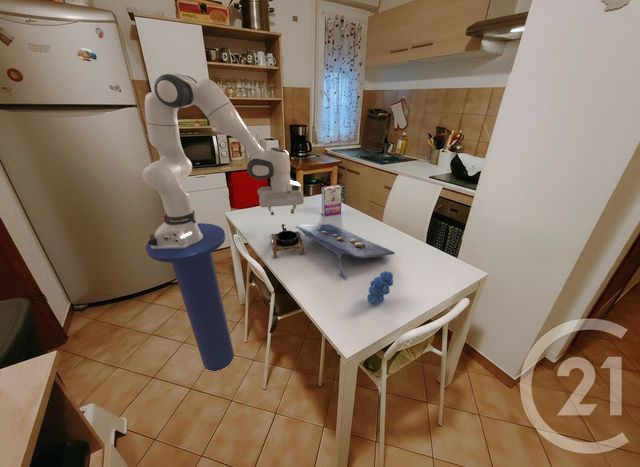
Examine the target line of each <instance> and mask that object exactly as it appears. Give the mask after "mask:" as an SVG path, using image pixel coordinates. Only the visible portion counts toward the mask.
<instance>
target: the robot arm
mask: <svg viewBox="0 0 640 467" xmlns="http://www.w3.org/2000/svg"><path fill="white" fill-rule="evenodd" d="M153 89H154V91H150V92H148V93H146V94H145V97H144V117H145V118H144V119H145V123H146V131H147V135H148V141H149V144H150V145H151V146H152V147H154V148H155V149H156V151H157V153H158V155H159V159H158V160H155V161H153V162H151V163H149V164H148V165H147V166H146V167H144V168H143V170H142V173H141V176H142V179H143V181H144V183H145V184H146V185H147V186H148V187H149V188H151V189H152V190H155V191H156V193H158V195H159V196H160V198H161V201H162V203H163V206H164V209H165V211H164V213H163V216H162V221H163V223H161V224H160V225H159V226H158V227H157V228H156V230H155V232H154V233H153V234H150V235H149V241H148V242H149V244H150V245H151V248H152V249H182V248H186V247H188V246H189V245H192V244H194V243H196V242H198V241H200V240H201V239H202V238H203V235H202V233H201V231H200V229H199V227H198V225H197V223H198V222H197V214H196V212H195V209H194V207H193V203H192V199H191V195H190V194H189V192H186V191H185V190H184V189H183V187H182V185H181V181H183V180H185V179H186V178H187V177H188V176H189V175H190V174H191V173H192V171H193V163H192V162H191V160H190V159H189V158H188V157H187V156H186V154H185V151H184V149H183V146H182V141H181V136H180V129H179V120H178V111H179V109H183V108H184V109H185V108H189V107H193V106H196V107H197V108H199V109H200V111H202V113H203V114H204V116H205V117H206V118H207V120H208V121H209V122H210V124H211V126H213V127H214V128H215V129H216V130H217V131H218V132H219V133H220V134H222V135H227V136H229V137H231V138H234V139H235V140H236V141H238V143H239V144H240V145H241V146H242V148H243V149H244V150H245V151H246V153H247V154H248V155H249V157H250V159H249V161H248V162H247V164H246V171H247V173H248V175H249V177H251V178H252V179H254V180H257V181H259V180H260V181H261V180H266V179H270V185H267V186H260V187H259V188H258V189H257V195H258V197H259V200H258V201H259V206H260V207H261V208H267V209H268V211H269V212H270V216H275V211H274V210H272V208H273V207H285V206H292V208H290V214H295V210H296V208H297V206H300V205H303V204H304V202H305V199H304V193H303V191H302V185H301V184H300V183H299V182H298V181H295V180H292V178H291V175H290V173H291V160H290V154H289V151H287V150H286V149H285V148H282V147H273V146H272V147H271V148H270V149H268V150H265V149H264V148H263V147H262V146H261V145H260V144H259V142H258V141H257V140H256V138H255V137H254V136H253V135H252V133H251V132H250V131H249V129H248V128H247V126H246V124H245V123H244V121H243V120H242V118H241V116H240V115H239V112H238V111H237V110H236V108H235V106H234V105H233V103H232V102H231V101H230V99H229V98H228V97H227V95H226V94H225V93H224V91H223V90H222V89H221V88H220V87H219V85H217V84H216V83H215V81H213V80H211V79H207V78H206V79H201V80H199V81H197V80H196V79H194V78H193V77H191V76H190V75H185V74H180V73H173V74H172V73H165V74H161V75H160V76H158V77H157V78H156V80H155V82H154V85H153Z"/></svg>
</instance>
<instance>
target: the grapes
mask: <svg viewBox="0 0 640 467" xmlns="http://www.w3.org/2000/svg"><path fill="white" fill-rule="evenodd" d="M379 275H380V276H377V277H375V278H373V280H371V281H370V286H369V287H368V294H367V298H366V299H367V300H366V301H367V302H368V303H370V305H371V306H377V305H378V304H379V303H381V302H384V300H385V296H386V295H388V294H390V292H391V290H390V287H392V286H393V285H394V280H393V279H394V276H393V272H391V271H386V270H384V271H382V272H381V273H379Z"/></svg>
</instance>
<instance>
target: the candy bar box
mask: <svg viewBox="0 0 640 467" xmlns="http://www.w3.org/2000/svg"><path fill="white" fill-rule="evenodd" d="M342 192H343V187H342V186H341V185H339V184H336V185H328V186H322V187H321V214H322V215H323V216H324V217H326V216H332V215H337V214H341V213H342V195H343V194H342Z"/></svg>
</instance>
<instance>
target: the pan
mask: <svg viewBox="0 0 640 467" xmlns="http://www.w3.org/2000/svg"><path fill="white" fill-rule="evenodd" d="M281 229H282V231H279V232H278V233H275V234H276V235H275V237H276V244H277V245H278V246H281V247H288V246H295V245H296V244H297V243H299V236H298V234H297V232H296V231H293V230H288V229H287V227H286V224H285V223H282V224H281Z"/></svg>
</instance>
